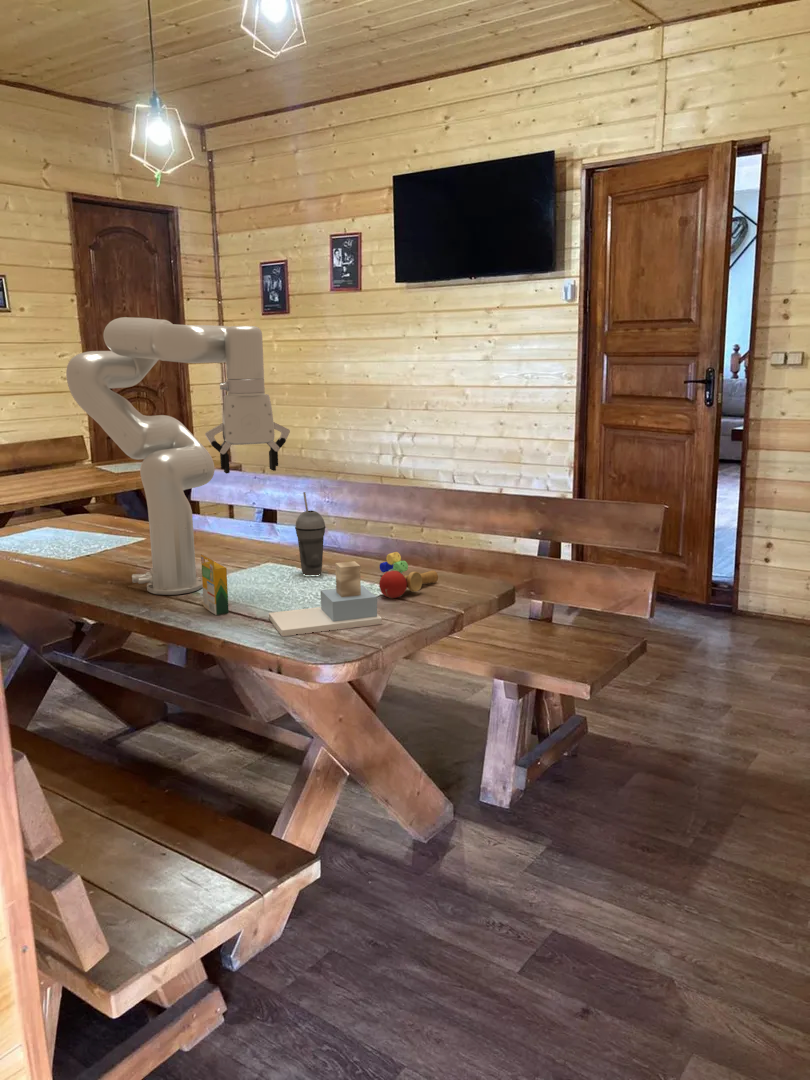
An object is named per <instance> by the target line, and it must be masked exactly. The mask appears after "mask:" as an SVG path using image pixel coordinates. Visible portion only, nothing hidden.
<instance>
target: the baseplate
mask: <svg viewBox="0 0 810 1080" xmlns="http://www.w3.org/2000/svg"><path fill="white" fill-rule="evenodd" d="M377 597H378V596H376V594H374V593H372V592H371V591H370V590H369V589H368V588H366V587H365V586H364V585H361V595H357V596H347V597H341V596H340V595H339V594H338V593H337V592H336V588H327V589H320V606H318V607H309V608H300V609H291V610H283V611H274V612H268V619H269V621H270V622H271V623H272V625H273V626H274V628H275V629H276V630H277V632H278V633H279V634H280V635H281V636H282V637H290V636H295V635H296V634H298V635H304V634H305V633H306V634H312V632H314V633H321V631H322V632H328V631H329V630H330V631H337V629H338V630H345V629H352V628H360V627H369V626H377V625H382V624H383V617H381V616H380V615H379V614H378V598H377ZM330 631H329V632H330ZM306 634H305V635H306ZM296 636H297V635H296Z"/></svg>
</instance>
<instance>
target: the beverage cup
mask: <svg viewBox="0 0 810 1080" xmlns="http://www.w3.org/2000/svg"><path fill="white" fill-rule="evenodd" d="M302 494H303V499H304V505H305V506H304V507H305V511H303V512H302V513H301V514H299V515H298V517H297V519H296V521H295V527H294V529H295V534H296V537H297V542H298V543H297V544H298V551H299V558H300V559H299V560H300V566H301V571H302V575H303V574H305V575H319V574H321V575H322V571H323V570H322V568H323V558H324V557H323V556H324V541H325V540H324V539H325V534H326V533H325V532H326V528H327V527H326V524H325V523H326V522H325V520H324V518H323V516H322V515H321V514H320V513H319V512H317V511H315V510H309V508H308V502H307V495H306V494H307V493H306V492H304V491H303V493H302Z"/></svg>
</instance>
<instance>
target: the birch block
mask: <svg viewBox="0 0 810 1080" xmlns="http://www.w3.org/2000/svg"><path fill="white" fill-rule="evenodd" d="M361 584H362V583H361V565H360V564H359V563H358V562H356V561H355V560H354V561H353V560H351V561H343V562H335V585H336V586H335V589H336V592H337V593H338V594H339V595H340V596H341V597H347V596H357V595H361V586H362V585H361Z"/></svg>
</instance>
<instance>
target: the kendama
mask: <svg viewBox="0 0 810 1080" xmlns="http://www.w3.org/2000/svg"><path fill="white" fill-rule="evenodd" d="M438 579H439V574H438V572H436V570H429V571H426V572H422V573H420V572H418V571H411V572H409V574H408V575H407V574H403V573H402V574H401V572H399V571H397V570H394V571H387V572H384V573H383V574H382V576H381V577H380V580H379V584H378V585H379V590H380V592H381V593H382V595H384V596H385V597H386V598H389V599H397V598H401V596H403V595H404V594H405V592H406V590H407V589H408V590H409V591H411V592H412V593H413V592H415V593H416V592H418V591H420V590H421V588H422V585H423V584H425V585H426V584H435V583H437V582H438Z"/></svg>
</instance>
